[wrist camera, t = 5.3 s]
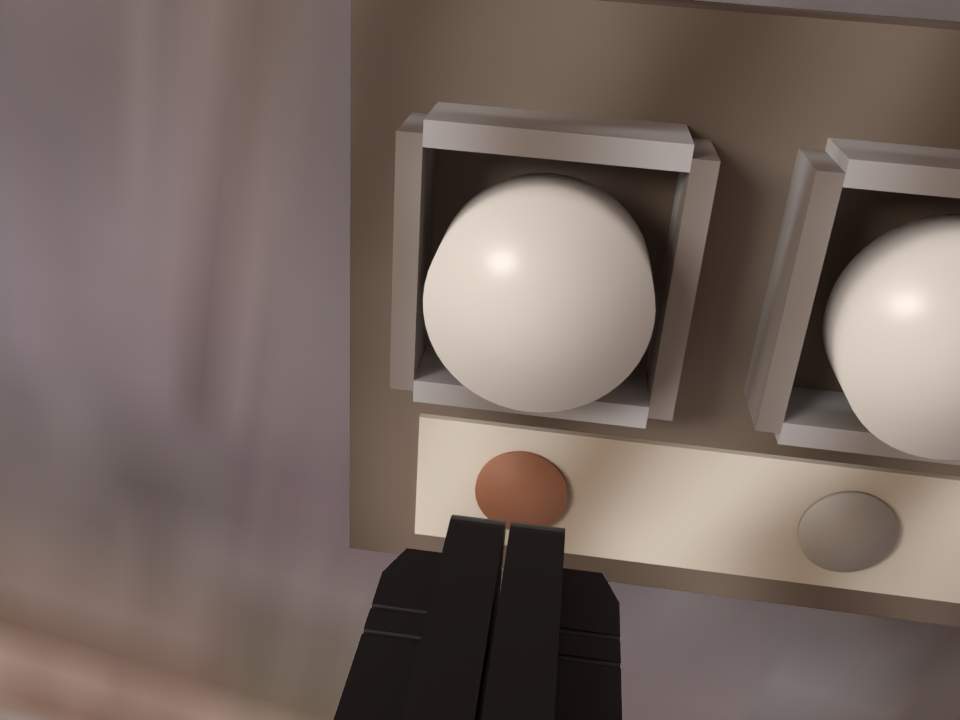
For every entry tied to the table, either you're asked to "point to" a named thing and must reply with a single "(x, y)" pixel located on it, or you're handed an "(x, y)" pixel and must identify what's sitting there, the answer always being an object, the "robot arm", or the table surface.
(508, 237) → the button
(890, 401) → the middle button
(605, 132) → the button board
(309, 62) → the table surface
